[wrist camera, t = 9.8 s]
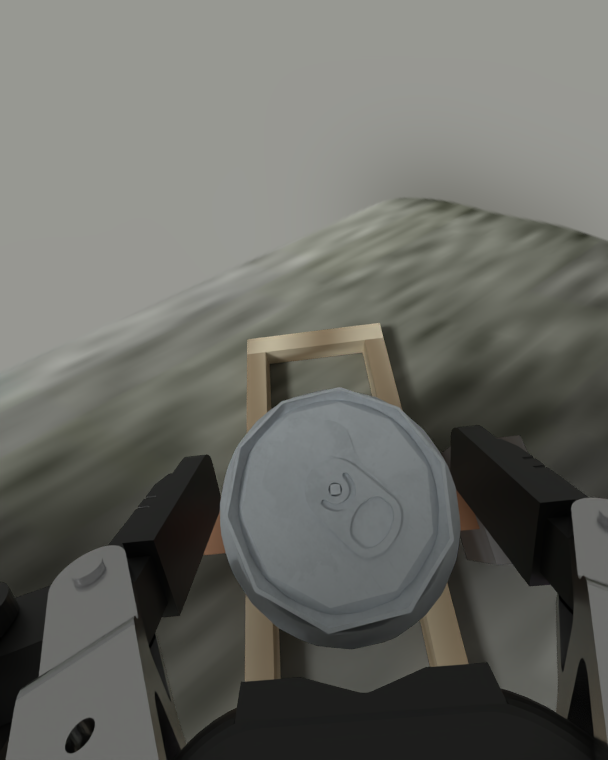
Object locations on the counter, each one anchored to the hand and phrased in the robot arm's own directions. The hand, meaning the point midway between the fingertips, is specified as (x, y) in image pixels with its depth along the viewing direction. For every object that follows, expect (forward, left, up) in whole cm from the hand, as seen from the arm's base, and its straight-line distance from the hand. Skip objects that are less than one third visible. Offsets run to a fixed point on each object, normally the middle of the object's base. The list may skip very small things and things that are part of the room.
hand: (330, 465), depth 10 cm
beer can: (0, -1, -8) cm, 8 cm away
